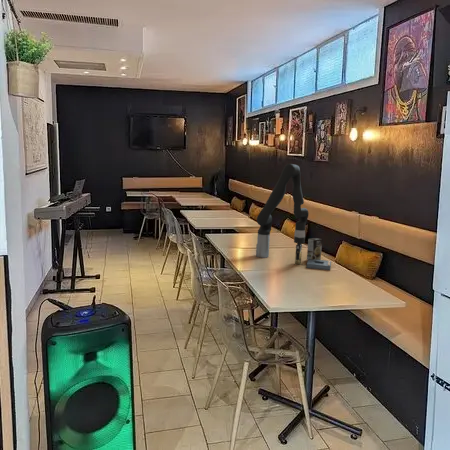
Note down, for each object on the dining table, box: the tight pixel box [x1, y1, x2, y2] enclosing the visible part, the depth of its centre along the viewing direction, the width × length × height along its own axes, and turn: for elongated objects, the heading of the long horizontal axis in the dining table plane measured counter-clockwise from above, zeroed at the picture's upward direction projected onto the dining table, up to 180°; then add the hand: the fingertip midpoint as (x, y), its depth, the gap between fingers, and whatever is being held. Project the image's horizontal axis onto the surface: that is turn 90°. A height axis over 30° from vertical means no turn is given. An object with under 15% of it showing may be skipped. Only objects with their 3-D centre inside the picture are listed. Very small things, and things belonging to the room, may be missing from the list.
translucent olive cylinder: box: [294, 251, 303, 266], centre depth 328 cm, size 4×4×9 cm
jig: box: [306, 259, 332, 271], centre depth 323 cm, size 16×16×4 cm
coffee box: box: [306, 237, 323, 261], centre depth 342 cm, size 9×6×16 cm
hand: (298, 258), depth 328 cm, fingers open, 8 cm apart
